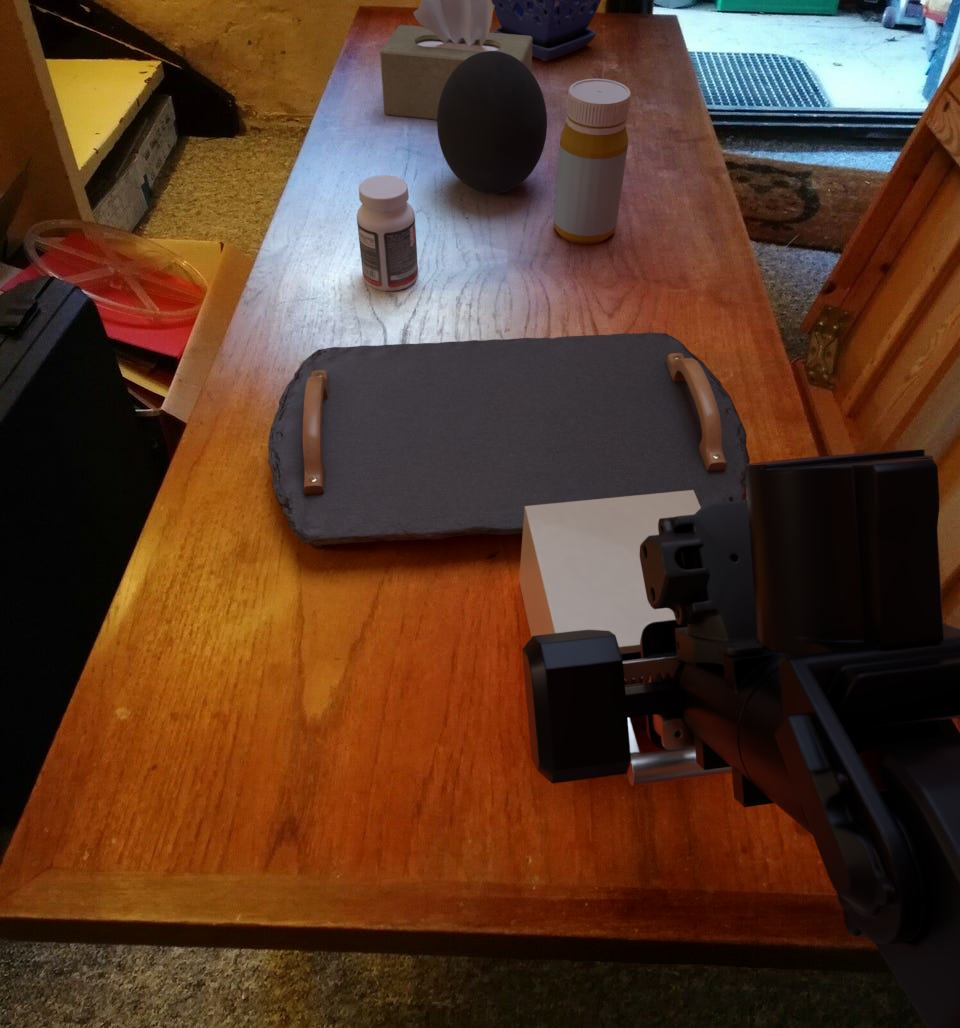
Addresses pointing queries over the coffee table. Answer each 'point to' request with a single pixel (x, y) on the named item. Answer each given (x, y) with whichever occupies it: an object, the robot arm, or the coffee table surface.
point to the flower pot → (548, 23)
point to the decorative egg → (492, 122)
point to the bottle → (591, 161)
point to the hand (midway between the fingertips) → (672, 648)
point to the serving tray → (495, 434)
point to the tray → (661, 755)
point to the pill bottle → (387, 233)
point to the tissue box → (439, 53)
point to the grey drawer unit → (594, 564)
